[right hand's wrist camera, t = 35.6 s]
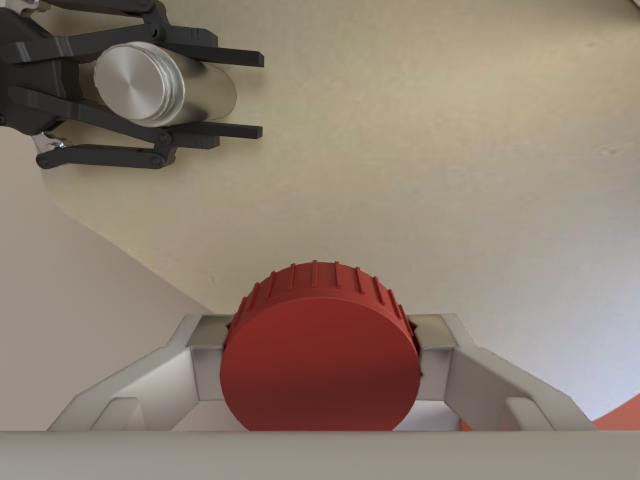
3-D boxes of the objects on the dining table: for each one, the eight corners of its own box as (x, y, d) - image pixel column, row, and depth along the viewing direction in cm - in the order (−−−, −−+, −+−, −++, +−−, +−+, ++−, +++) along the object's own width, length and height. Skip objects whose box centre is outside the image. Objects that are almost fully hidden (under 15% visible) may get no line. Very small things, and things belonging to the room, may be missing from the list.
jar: (236, 69, 31) (169, 38, 17) (237, 120, 33) (176, 131, 19) (186, 65, 31) (78, 31, 17) (189, 117, 33) (93, 126, 19)
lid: (251, 408, 12) (238, 463, 10) (216, 268, 10) (192, 305, 8) (408, 394, 11) (424, 448, 10) (404, 248, 9) (423, 282, 8)
